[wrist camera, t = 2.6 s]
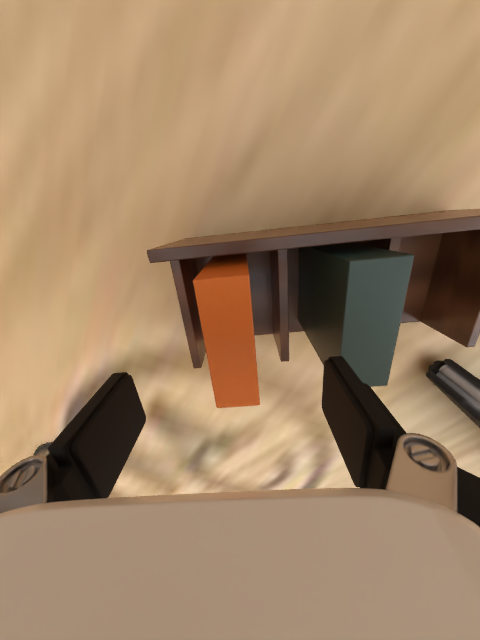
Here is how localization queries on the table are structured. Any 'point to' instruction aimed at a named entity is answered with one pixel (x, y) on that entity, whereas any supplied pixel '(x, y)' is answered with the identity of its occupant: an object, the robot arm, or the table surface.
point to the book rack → (387, 233)
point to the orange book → (228, 329)
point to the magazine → (457, 386)
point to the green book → (354, 304)
